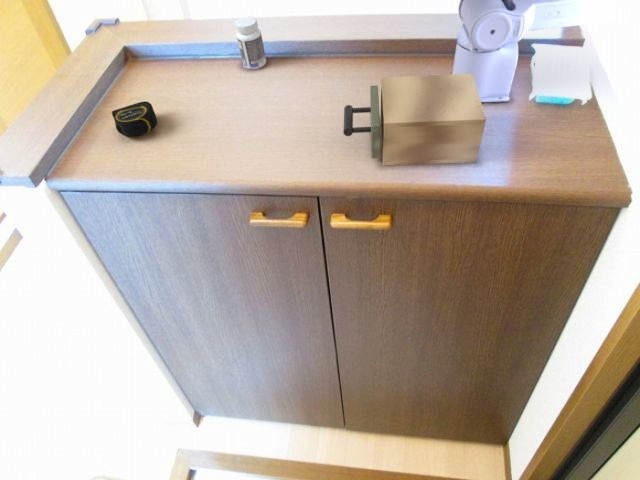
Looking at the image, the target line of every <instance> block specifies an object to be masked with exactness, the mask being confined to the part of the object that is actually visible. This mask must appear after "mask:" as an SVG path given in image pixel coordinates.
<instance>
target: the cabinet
mask: <svg viewBox="0 0 640 480" xmlns="http://www.w3.org/2000/svg"><path fill="white" fill-rule="evenodd" d="M482 104H483V103H481V101H480V97H479V94H478V91H477V87H476V84H475V81H474V77H473V74H472V73H468V74H452V73H450V74H448V73H447V74H430V75H411V76H407V75H406V76H392V77H391V76H390V77H389V76H388V77H381V78H380V138H381V153H382V154H381V155H382V165H383V166H406V165H408V166H409V165H436V164H437V165H441V164H442V165H443V164H473V163H477V160H478V156H479V152H480V147H481V144H482V138H483V135H484V130H485V126H486V122H487V118H486V115H485V112H484V108H483V105H482Z"/></svg>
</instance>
